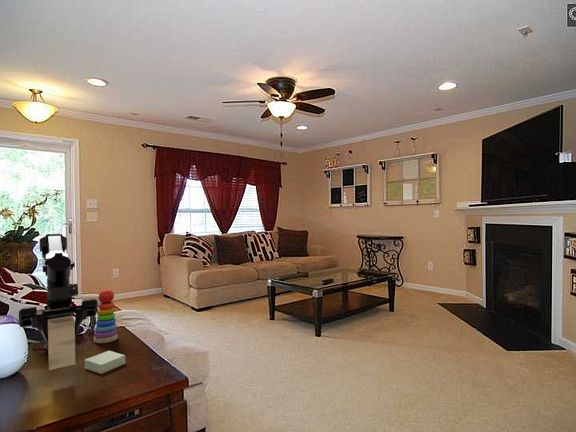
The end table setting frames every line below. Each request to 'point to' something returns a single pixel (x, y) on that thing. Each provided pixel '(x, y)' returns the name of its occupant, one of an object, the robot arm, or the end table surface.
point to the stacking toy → (105, 319)
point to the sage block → (104, 362)
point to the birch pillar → (61, 342)
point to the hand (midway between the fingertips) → (61, 339)
